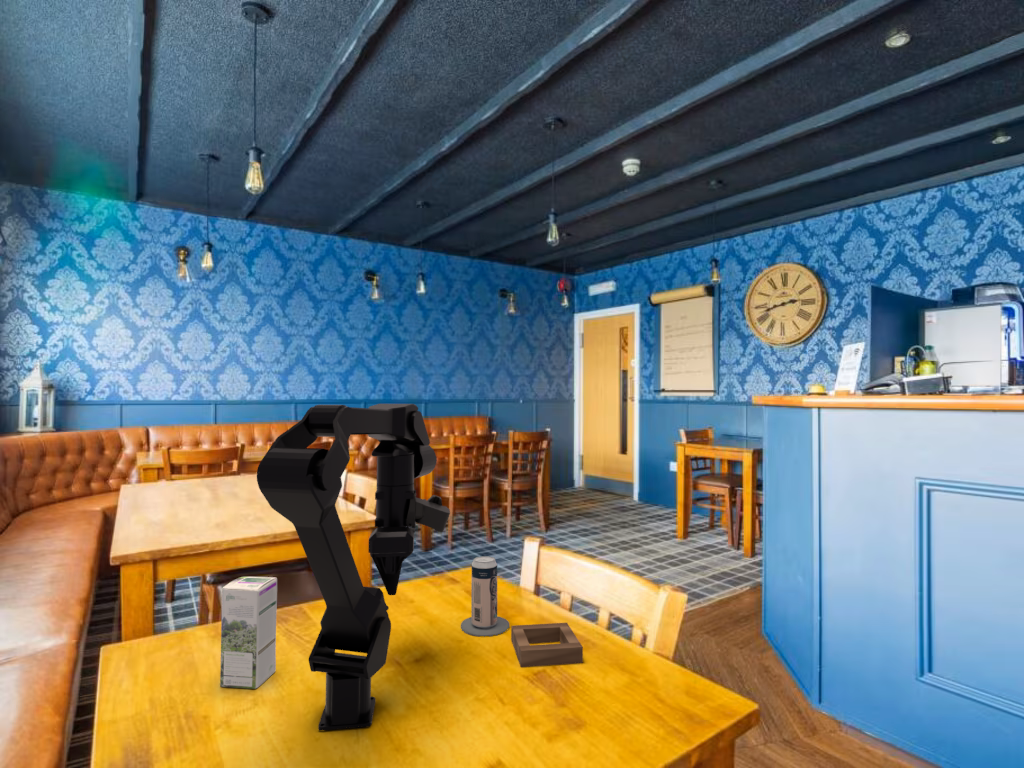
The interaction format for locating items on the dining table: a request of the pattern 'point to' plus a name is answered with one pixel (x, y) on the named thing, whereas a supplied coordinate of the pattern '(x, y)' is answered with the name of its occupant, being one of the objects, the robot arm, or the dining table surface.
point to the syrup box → (248, 632)
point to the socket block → (548, 653)
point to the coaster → (495, 630)
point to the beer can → (484, 592)
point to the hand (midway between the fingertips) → (394, 584)
